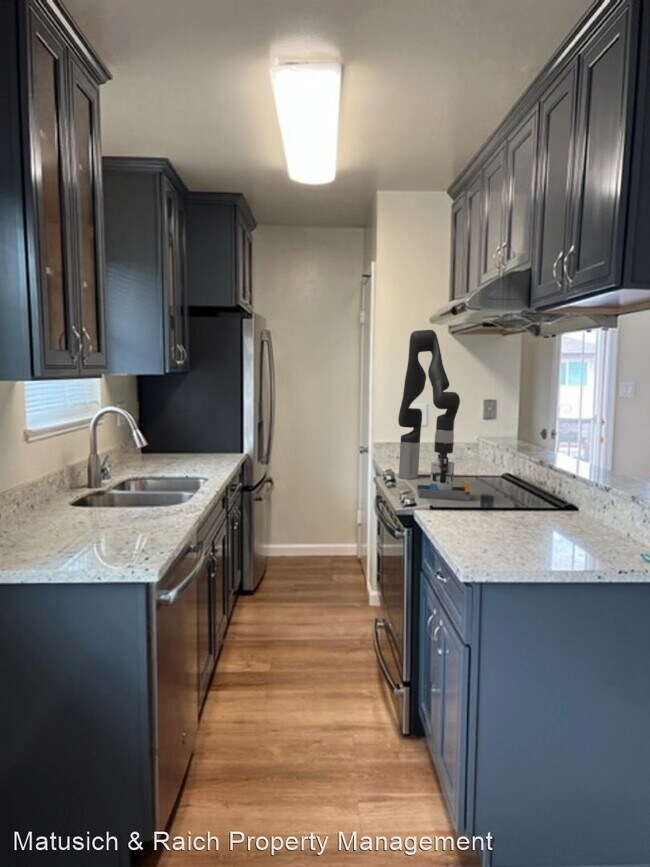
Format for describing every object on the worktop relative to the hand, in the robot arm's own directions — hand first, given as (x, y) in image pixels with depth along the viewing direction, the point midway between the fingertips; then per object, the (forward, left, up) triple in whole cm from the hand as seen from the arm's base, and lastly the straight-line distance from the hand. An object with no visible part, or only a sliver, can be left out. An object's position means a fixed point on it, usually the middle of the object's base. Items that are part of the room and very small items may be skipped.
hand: (441, 481), depth 245 cm
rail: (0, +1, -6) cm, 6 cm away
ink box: (0, 0, -4) cm, 4 cm away
